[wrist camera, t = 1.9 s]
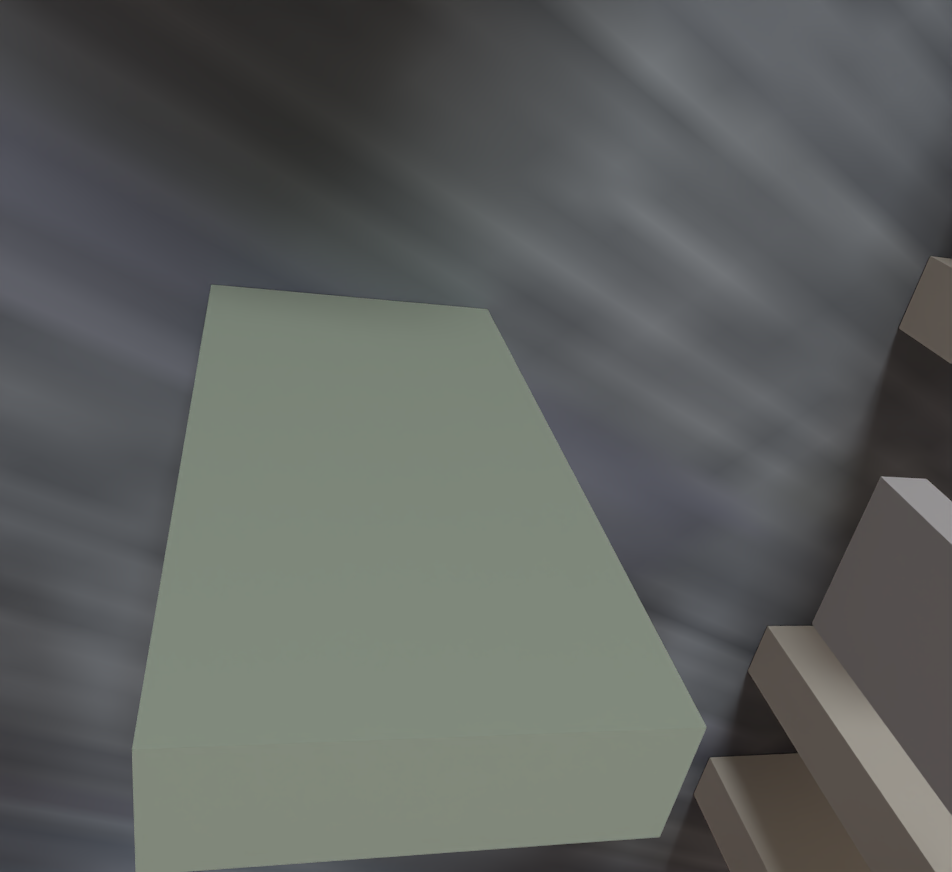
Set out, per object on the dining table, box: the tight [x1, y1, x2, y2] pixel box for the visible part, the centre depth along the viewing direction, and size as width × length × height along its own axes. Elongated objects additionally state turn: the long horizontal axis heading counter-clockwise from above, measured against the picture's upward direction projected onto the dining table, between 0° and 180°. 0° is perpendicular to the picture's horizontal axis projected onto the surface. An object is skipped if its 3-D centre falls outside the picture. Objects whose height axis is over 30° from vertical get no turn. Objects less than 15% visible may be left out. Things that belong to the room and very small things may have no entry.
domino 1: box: [132, 285, 707, 872], centre depth 12 cm, size 2×5×10 cm, turn 80°
